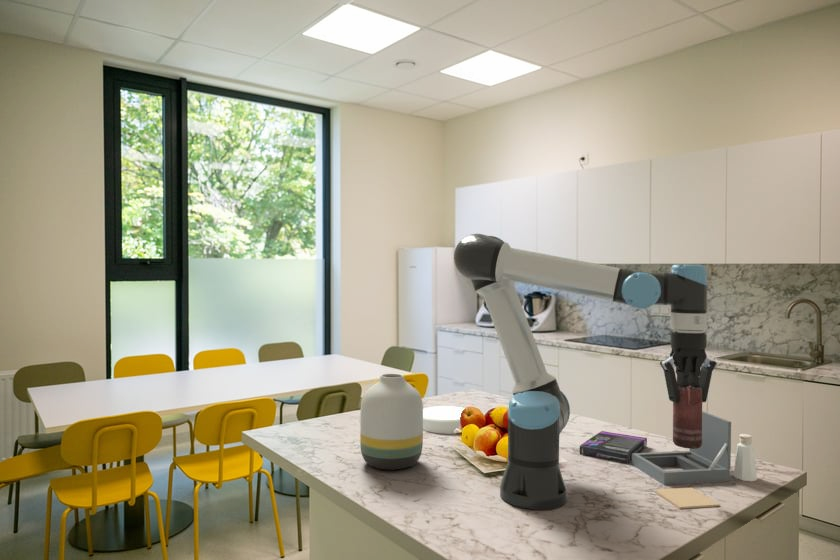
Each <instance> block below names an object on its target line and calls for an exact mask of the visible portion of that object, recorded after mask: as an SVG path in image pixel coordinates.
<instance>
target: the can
mask: <svg viewBox="0 0 840 560" xmlns="http://www.w3.org/2000/svg"><path fill="white" fill-rule="evenodd" d="M678 391H679V397H680V402H679V403H675V402H672V442H673V444H674V445H675V446H676V447H679V448H684V449H688V450H690V449H697V448H700V447H701V445H702V411H703V402H702V389H701V386H700V385H699V387H698V388H694V387H691V386H686V387H680V386H678Z"/></svg>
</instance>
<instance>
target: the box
mask: <svg viewBox="0 0 840 560" xmlns="http://www.w3.org/2000/svg"><path fill="white" fill-rule="evenodd" d="M647 444H648V437H643V436H634V435H629V434H622V433H615V432H611V431H605V430H601V431H599V432H598V433H596V434H595V435H593V436H592V437H591V438H589V439H588V440H586V441H585V442H583V443H581V444H579V455H582V456H585V457H586V456H587V457H591V458H597V459H601V460H607V461H610V462H611V461H612V462H617V463H621V464H628V465H629V464H630V463H632V453H643V451H644V450H645V449H646V448H647V446H648V445H647Z"/></svg>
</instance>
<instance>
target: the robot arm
mask: <svg viewBox="0 0 840 560" xmlns="http://www.w3.org/2000/svg"><path fill="white" fill-rule="evenodd" d="M453 261H454V265H455V267H456V269H457V271H458V272H459V273H460V274H461V275H462V276H463V277H465V278H467V279H470V281H471V283H472V287H473V290H474V292H475V293H476V294H478V295H480V296H481V297H483V299H484V302H485V304H486V308H487V310H488V313H489V315H490V318H491V321H492V323H493V327H494V330H495V332H496V335H497V338H498V340H499V343H500V346H501V348H502V351H503V354H504V357H505V359H506V362H507V364H508V367H509V371H510V372H511V375H512V379H513V381H514V386H513V387H512V388H513V389H512V392H511V393H512V396H511V397H510V399H509V400H508V401H509V402H508V406H507V416H508V417H507V418H508V419H507V421H508V423H507V433H508V434H507V436H508V437H507V464H506V467H505V470H504V472H503V474H502V475H503V476H502V477H501V481H500V485H499V496H500V498H501V499H502V500H503V501H504V502H506V503H507V504H510V505H512V506H515V507H518V508H521V509H528V510H538V511H539V510H540V511H542V510H553V509H557V508H560V507H562V506H564V505H565V503H566V502H567V487H566V485H565V481H564V477H563V475H562V471H561V468H560V435H561V433H562V432H563V430H564V428H565V427H566V426H567V424H568V422H569V419H570V415H571V407H570V402H569V400H568V398H567V396H566V395H565V394H564V393H563V391H562V390H561V388H560V386H559V384H558V381H557V378H556V376H554V375H552V374H550V373H548V371H547V369H546V366H545V363H544V362H543V358H542V356H541V353H540V350H539V348H538V345H537V342H536V340H535V337H534V335H533V332H532V329H531V326H530V324H529V321H528V319H527V316H526V313H525V310H524V308H523V305H522V302H521V299H520V297H519V294H518V292H517V289H516V285H515V283H516V282H517V283H522V284H528V285H532V286H537V287H541V288H547V289H552V290H557V291H561V292H566V293H572V294H576V295H582V296H585V297H586V296H587V297H589V298H595V299H599V300H605V301H610V302H614V303H618V304H623V305H627V306H631V307H633V308H635V309H636V308H637V309H647V308H650V307H651V306H653V305H656V306H657V305H660V306H661V305H663V306H665V305H666V306H667V305H668V306H670V329H671V330H672V331H671V332H670V347H671V351H670V353H669V357H668V358H666V359H665V360H663V359H662V360H660V362H659V364H660V367H661V369H662V370H663V373H664V374H663V375H664V377H665V378H664V379H665V385H666V389H667V394H668V399H669V401H670V402H672V403H673V402H675V403H679V402H680V397H679V391H678V386H680V387H686V386H691V387H694V388H698V387H699V385H700V386H701V389H702V403H706V402H707V399H708V394H709V389H710V384H711V380H712V374H713V371H714V369H715V367H716V366H717V362H716V361H715V360H712V359H710V358H708V356H707V353H706V348H707V347H708V346H707V341H708V339H707V337H708V335H707V333H706V332H704V331H707V328H708V327H707V324H708V323H707V319H708V317H707V316H708V314H707V313H708V311H707V310H708V274H707V273H708V272H707V268H706V266H705V265H703V264H673V265H672V266H671V269H670V272H661V273H660V272H659V273H658V272H645V271H636V270H632V269H626V268H620V267H615V266H612V265H611V266H610V265H604V264H599V263H595V262H588V261H583V260H578V259H572V258H567V257H562V256H557V255H551V254H545V253H541V252H535V251H529V250H526V249H520V248H514V247H511V245H510V244H509V243H508V242H506V241H504V240H502V238H500V237H497V236H493V235H486V234H482V233H473V234H472V233H471V234H468V235H466V236H465V237H463V238H462V239H460V241H459V242H457V245H456V246H455V249H454V253H453ZM674 368H675V369H674Z"/></svg>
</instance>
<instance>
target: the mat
mask: <svg viewBox="0 0 840 560" xmlns="http://www.w3.org/2000/svg"><path fill="white" fill-rule="evenodd" d="M653 492H654V493H655V494H657V495H659V497H661V498H663V499H664V500H665V501H667V502H669V503H670V504H672V505H673V506H675V507H677V508H678V509H679V510H680V509H682V510H684V509H697V508H698V509H700V508H709V507H712V508H715V507H721V504H720V503H718V502H717V501H715V500H714V499H712V498H710V497H709V496H707V495H705V494H704V493H702V492H700V491H698V490H697V489H695V488H693V487H679V488H677V487H675V488H662V489H660V488H659V489H653Z"/></svg>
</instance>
